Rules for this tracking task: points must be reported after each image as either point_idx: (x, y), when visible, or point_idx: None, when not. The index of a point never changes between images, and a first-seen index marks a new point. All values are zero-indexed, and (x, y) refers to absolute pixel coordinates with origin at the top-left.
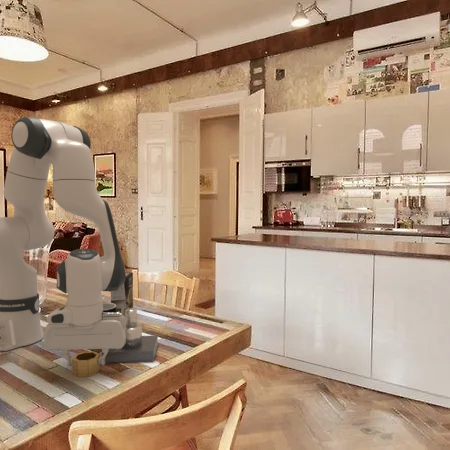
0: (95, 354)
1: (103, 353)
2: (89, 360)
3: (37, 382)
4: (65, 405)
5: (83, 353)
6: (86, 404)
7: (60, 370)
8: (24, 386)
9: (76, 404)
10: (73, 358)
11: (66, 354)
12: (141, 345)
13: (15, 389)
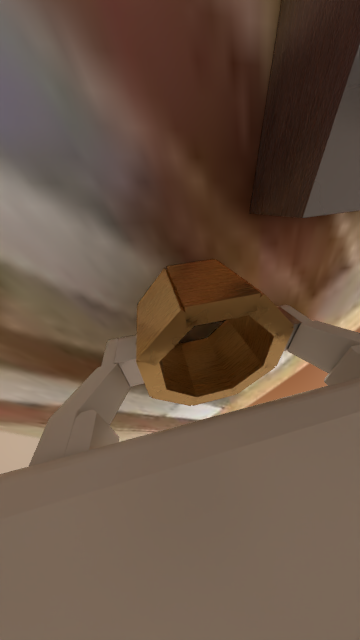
0: (267, 329)
1: (304, 215)
2: (242, 389)
3: (67, 395)
4: (197, 420)
5: (186, 331)
6: (230, 410)
7: (71, 322)
8: (49, 413)
9: (214, 414)
10: (156, 393)
11: (106, 420)
12: None
13: (40, 424)
